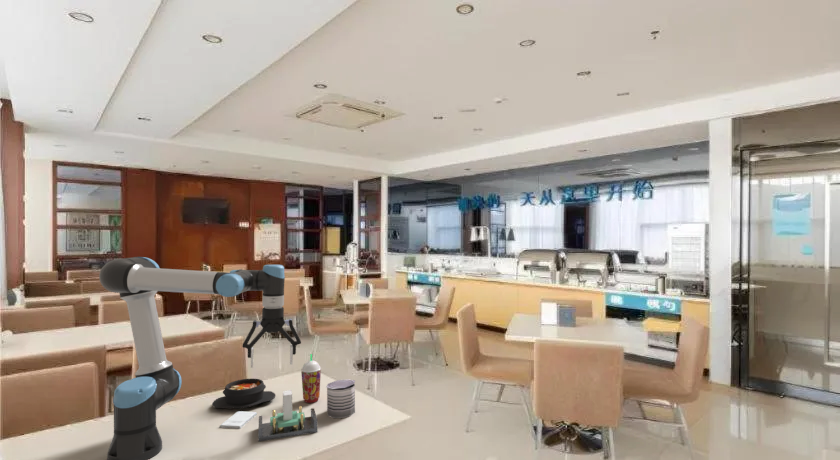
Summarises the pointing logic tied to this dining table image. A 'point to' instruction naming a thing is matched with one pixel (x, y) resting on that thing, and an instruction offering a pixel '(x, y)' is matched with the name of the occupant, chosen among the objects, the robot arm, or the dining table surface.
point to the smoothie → (311, 380)
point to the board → (289, 422)
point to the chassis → (274, 432)
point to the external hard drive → (238, 419)
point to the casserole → (244, 394)
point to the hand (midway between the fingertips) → (271, 365)
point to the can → (341, 398)
